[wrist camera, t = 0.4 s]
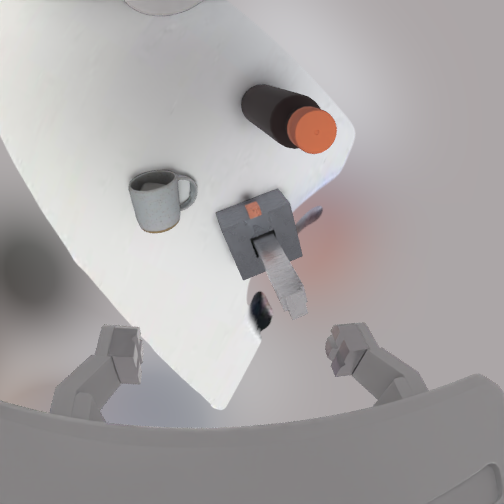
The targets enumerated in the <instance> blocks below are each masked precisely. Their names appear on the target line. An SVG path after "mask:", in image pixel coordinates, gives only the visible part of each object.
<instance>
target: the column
mask: <svg viewBox="0 0 504 504" xmlns="http://www.w3.org/2000/svg"><path fill="white" fill-rule="evenodd" d="M251 242H252V244H253V245H254V247H255V249H256V252H257V254H258V256H259V258H260V260H261V262H262V264H263V267H264V269H265V271H266V273H267V275H268V277H269V279H270V282H271V283H272V286H273V288H274V290H275V292H276V294H277V297H278V299H279V301H280V303H281V305H282V307H283V309H284V311H287V310H288V311H289V313H290V316H291V318H292V320H294V319H297V318H299V317H301V316H304V315H306V314H308V312H307V307H306V302H307V298H306V294H305V290H304V286H303V284H302V282H301V280H300V279H299V277H298V275H297V274H296V272H295V270H294V268H293V267H292V265H291V263H290V261H289V260H288V258H287V256H286V255H285V253H284V251H283V249H282V248H281V246H280V244H279V243H278V241H277V239H276V238H275V236H274V234H273V232H272V231H269V232H266V233H264V234H261V235H259V236H256V237H254V238H251Z"/></svg>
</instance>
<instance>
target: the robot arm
mask: <svg viewBox="0 0 504 504" xmlns="http://www.w3.org/2000/svg"><path fill="white" fill-rule="evenodd" d="M124 1H125V2H126V3H127V4H128V5H129V6H130V7H132V8H133V9H135V10H137V11H139V12H141V13H144V14H148V15H154V16H166V15H173V14H177V13H181V12H184V11H186V10H188V9H190V8H192V7H194V6H196V5H197V4H199V3H200V2H201V1H202V0H124ZM331 333H332V335H331V336H330V337H328V338H327V341H326V346H325V350H326V354H327V357H328V358H329V359H330V360H332V364H331V367H332V369H333V372H334V374H335V377H339V376H347V375H352V376H353V377H354V378H355V379H356V380H357V381H358V382H359V383H360V384H361V385H362V386H363V387H365V388H366V389H367V390H368V391H369V392H370V393H371V394H372V395H373V396H374V397H375V398H376V399H378V401H377V402H376V403H375V404H374V406H373V407H370V408H366V409H361V410H357V411H352V412H348V413H343V414H337V415H332V416H326V417H320V418H314V419H308V420H301V421H293V422H285V423H278V424H277V423H276V424H268V425H256V426H241V427H221V428H169V427H149V426H148V427H147V426H134V425H123V424H114V423H106V421H105V419H104V417H103V416H102V414H101V412H100V410H101V409H102V408H103V406H104V405H105V404H106V403H107V401H108V400H109V399H110V397H111V396H112V395H113V394H114V392H115V391H116V390H117V388H118V387H119V386H120V383H122V384H140V383H141V373H142V371H141V366H140V365H141V364H142V362H143V344H142V340H141V339H140V335H141V332H140V328H139V327H131V326H120V325H107V324H104V325H103V326H102V329H101V332H100V337H99V340H98V344H97V348H96V352H95V355H91V356H90V357H89V358H87V359H86V360H85V361H84V362H83V363H82V364H81V365H80V366H79V367H77V368H76V369H75V370H74V371H73V372H72V373H71V374H70V375H69V376H68V377H67V378H65V379H64V380H63V381H62V382H61V383H60V384H59V385H58V386H57V387H56V389H55V392H54V396H53V400H52V404H51V408H50V413H47V412H42V411H38V410H34V409H30V408H26V407H22V406H18V405H15V404H11V403H8V402H4V401H1V400H0V504H504V393H503V391H502V389H501V388H500V387H499V386H498V385H497V384H496V383H494V382H493V381H491V380H490V379H488V378H487V377H485V376H483V375H481V374H473V375H471V376H468V377H466V378H463V379H461V380H458V381H456V382H453V383H450V384H448V385H445V386H442V387H439V388H436V389H433V390H430V391H429V390H428V388H427V387H426V385H425V383H424V381H423V379H422V378H421V376H420V374H419V372H417V371H416V370H414V369H413V368H412V367H410V366H409V365H407V364H406V363H404V362H402V361H401V360H400V359H398V358H397V357H395V356H394V355H392V354H391V353H389V352H388V351H386V350H385V349H384V348H379V346H378V344H377V343H376V341H375V339H374V337H373V335H372V333H371V332H370V330H369V328H368V326H367V325H366V324H365V323H351V324H340V325H334V326H333V327H332V329H331Z"/></svg>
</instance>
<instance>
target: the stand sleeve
mask: <svg viewBox="0 0 504 504" xmlns="http://www.w3.org/2000/svg"><path fill="white" fill-rule="evenodd" d="M216 215H217V218H218V221H219V224H220V227H221V230H222V233H223V235H224V237H225V240H226V242H227V244H228V246H229V249H230V251H231V253H232V256H233V258H234V260H235V263H236V265H237V267H238V270H239V272H240V274H241V276H242V279H243V280H246V279H248V278H250V277H253V276H255V275H258V274H260V273H263V272H265V269H264V267H263V264H262V262H261V260H260V258H259V256H258V254H257V252H256V249H255V247H254V245H253V244H252V242H251V238H254V237H256V236H259V235H261V234H264V233H266V232H269V231H272V232H273V234H274V236H275V238H276V239H277V241H278V243H279V244H280V246H281V248H282V249H283V251H284V253H285V255H286V256H287V258H288V260H289V261H292V260H295V259H297V258H299V257H302V252H301V247H300V243H299V239H298V234H297V230H296V226H295V222H294V218H293V214H292V210H291V206H290V203H289V202H288V200H287V199H286V198H285V197H284V195H283V194H282V193H281V192H280V190H279V189H276V190H273V191H270V192H268V193H265V194H262V195H260V196H257V197H255V198H252V199H249V200H247V201H244V202H242V203H239V204H237V205H234V206H232V207H229V208H227V209H224V210H222V211H219V212H217V213H216Z"/></svg>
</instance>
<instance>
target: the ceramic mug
mask: <svg viewBox="0 0 504 504" xmlns="http://www.w3.org/2000/svg"><path fill="white" fill-rule="evenodd" d="M178 180H188V181H190V189H191V191H190V197H189V199H188V200H187V201H186V202H185V203H183V204H181V205H180V204H179V193H178ZM129 192H130V195H131V199H132V203H133V207H134V210H135V214H136V218H137V221H138V223H139V225H140V227H141V228H142V229H143V230H144V231H146V232H149V233H162V232H165V231H168V230H170V229H172V228H173V227H174V226H175V225H176V224H177V223H178V222H179V219H180V211H183V210H185V209H187V208H188V207H190V206H191V205H192V204H193V203H194V201H195V199H196V196H197V185H196V183H195V181H194V180H192V179H191V178H189V177H188V176H184V175H176V174H175V173H174V172H172V171H166V170H157V171H150V172H147V173H143V174H141V175H139V176H137V177H135V178H134V179H133V180H132V181H131V182H130V183H129Z"/></svg>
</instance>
